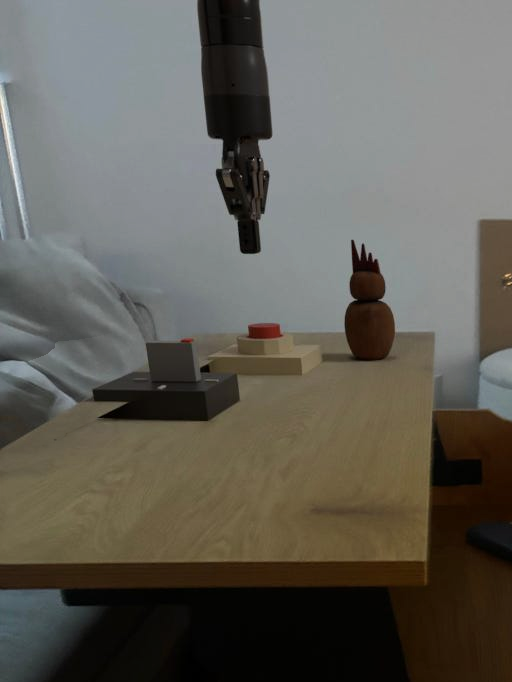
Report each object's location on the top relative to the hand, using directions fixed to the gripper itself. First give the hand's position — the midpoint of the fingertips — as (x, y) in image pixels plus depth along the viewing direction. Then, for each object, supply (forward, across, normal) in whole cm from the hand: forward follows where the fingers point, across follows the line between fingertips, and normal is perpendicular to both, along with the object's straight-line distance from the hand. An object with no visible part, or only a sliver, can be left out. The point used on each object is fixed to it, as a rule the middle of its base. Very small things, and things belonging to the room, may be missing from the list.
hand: (250, 253), depth 122 cm
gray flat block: (+11, -24, +1) cm, 27 cm away
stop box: (+14, +1, -1) cm, 14 cm away
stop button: (+10, +1, -1) cm, 10 cm away
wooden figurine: (+14, +9, -12) cm, 21 cm away
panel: (+14, -24, +2) cm, 28 cm away
